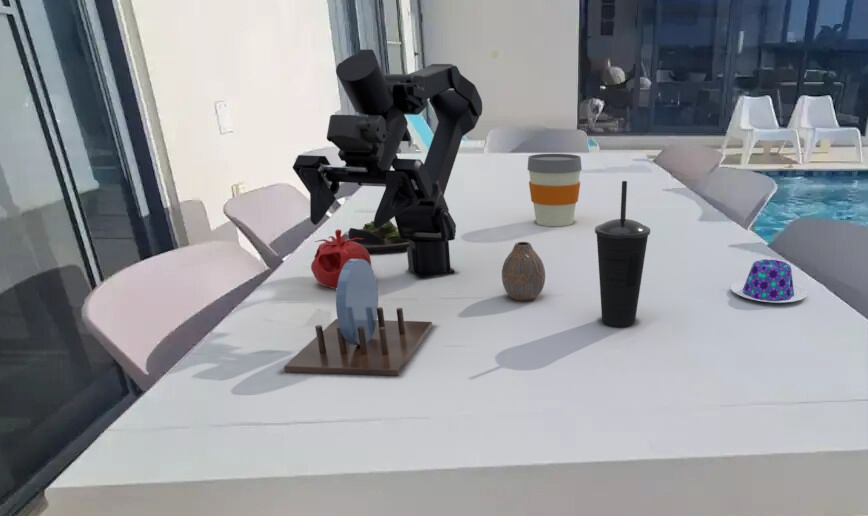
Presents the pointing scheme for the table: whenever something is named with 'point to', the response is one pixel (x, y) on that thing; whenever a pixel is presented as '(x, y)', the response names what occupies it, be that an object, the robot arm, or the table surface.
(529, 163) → the reusable coffee cup
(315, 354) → the rack
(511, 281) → the vase
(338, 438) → the table surface
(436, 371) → the table surface
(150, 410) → the table surface
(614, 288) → the drinking cup
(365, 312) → the plate
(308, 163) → the robot arm
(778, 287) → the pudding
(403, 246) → the salad plate
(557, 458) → the table surface
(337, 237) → the pomegranate
